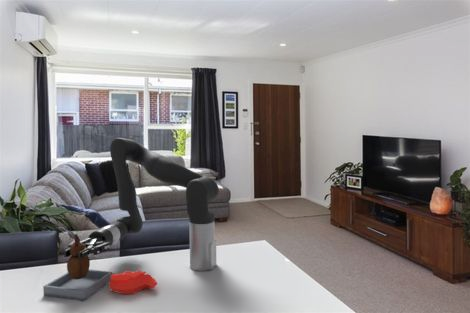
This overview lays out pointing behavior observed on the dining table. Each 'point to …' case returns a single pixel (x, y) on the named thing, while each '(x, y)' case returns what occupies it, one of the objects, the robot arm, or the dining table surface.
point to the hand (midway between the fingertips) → (72, 254)
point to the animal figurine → (131, 282)
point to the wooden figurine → (77, 261)
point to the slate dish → (78, 285)
